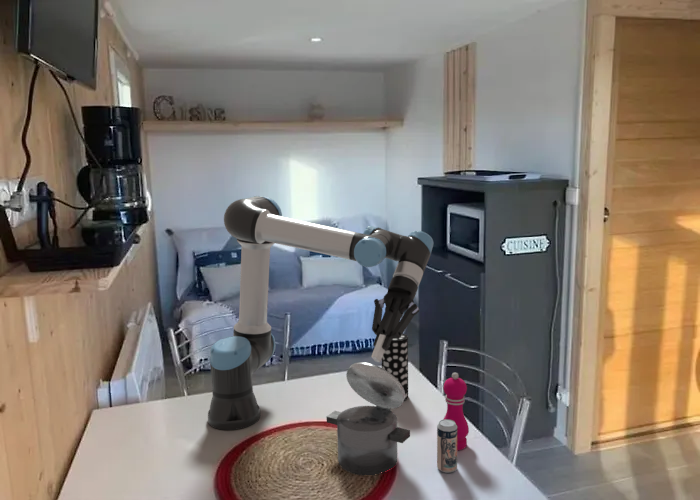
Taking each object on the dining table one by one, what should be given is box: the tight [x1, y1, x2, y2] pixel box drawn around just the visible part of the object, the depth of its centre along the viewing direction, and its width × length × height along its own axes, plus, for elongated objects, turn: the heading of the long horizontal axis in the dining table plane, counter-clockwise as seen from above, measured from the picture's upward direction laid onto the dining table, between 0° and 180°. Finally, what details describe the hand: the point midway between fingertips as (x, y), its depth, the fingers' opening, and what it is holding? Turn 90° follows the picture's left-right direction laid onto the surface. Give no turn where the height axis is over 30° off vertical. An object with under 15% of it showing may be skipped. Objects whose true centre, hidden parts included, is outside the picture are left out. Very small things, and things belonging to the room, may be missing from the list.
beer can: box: [436, 418, 458, 474], centre depth 140 cm, size 5×5×12 cm
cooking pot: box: [325, 405, 411, 476], centre depth 145 cm, size 22×15×11 cm
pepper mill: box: [442, 372, 470, 451], centre depth 151 cm, size 7×7×20 cm
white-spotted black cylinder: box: [381, 333, 409, 402], centre depth 181 cm, size 8×8×20 cm
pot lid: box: [345, 361, 405, 411], centre depth 147 cm, size 16×17×3 cm
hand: (375, 359), depth 146 cm, fingers closed
